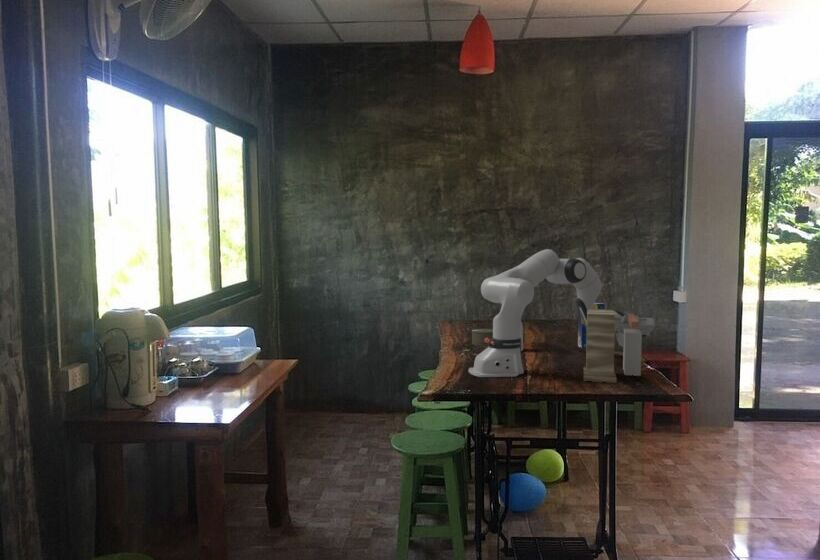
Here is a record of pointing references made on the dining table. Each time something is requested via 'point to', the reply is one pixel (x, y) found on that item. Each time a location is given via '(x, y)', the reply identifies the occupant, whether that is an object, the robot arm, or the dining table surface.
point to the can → (481, 336)
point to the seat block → (632, 352)
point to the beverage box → (582, 329)
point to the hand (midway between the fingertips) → (630, 316)
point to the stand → (600, 346)
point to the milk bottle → (521, 335)
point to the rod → (632, 320)
